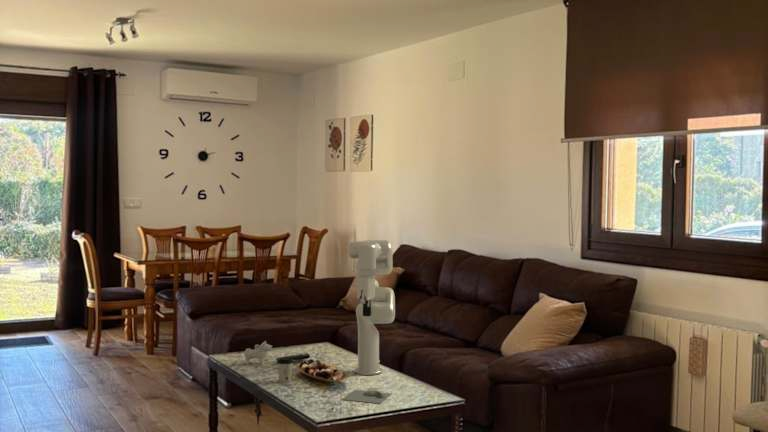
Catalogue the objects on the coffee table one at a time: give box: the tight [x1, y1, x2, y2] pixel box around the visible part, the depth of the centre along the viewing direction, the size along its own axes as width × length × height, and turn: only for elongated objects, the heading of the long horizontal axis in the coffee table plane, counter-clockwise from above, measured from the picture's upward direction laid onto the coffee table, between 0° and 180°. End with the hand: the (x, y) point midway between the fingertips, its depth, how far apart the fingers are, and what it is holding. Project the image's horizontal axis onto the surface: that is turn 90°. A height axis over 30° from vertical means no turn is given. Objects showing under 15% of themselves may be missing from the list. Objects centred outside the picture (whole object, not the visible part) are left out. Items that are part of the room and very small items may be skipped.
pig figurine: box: [244, 340, 273, 366], centre depth 358 cm, size 5×13×11 cm, turn 98°
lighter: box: [366, 387, 386, 398], centre depth 307 cm, size 7×2×8 cm
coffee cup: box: [277, 356, 294, 384], centre depth 327 cm, size 7×7×10 cm
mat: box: [341, 389, 392, 405], centre depth 305 cm, size 14×16×1 cm
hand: (367, 315), depth 323 cm, fingers closed
